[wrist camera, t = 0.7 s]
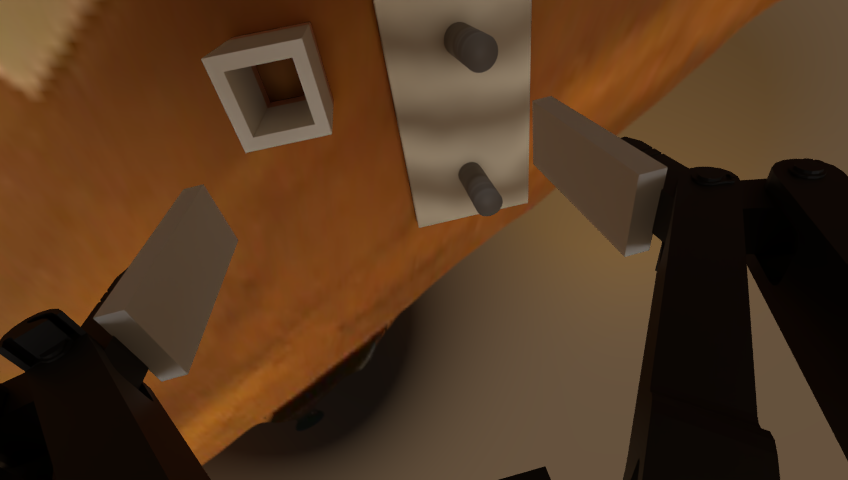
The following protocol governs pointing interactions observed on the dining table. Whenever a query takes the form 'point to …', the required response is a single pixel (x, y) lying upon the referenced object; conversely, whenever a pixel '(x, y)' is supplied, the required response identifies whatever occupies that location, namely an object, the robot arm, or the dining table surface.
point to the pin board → (460, 101)
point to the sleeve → (249, 99)
